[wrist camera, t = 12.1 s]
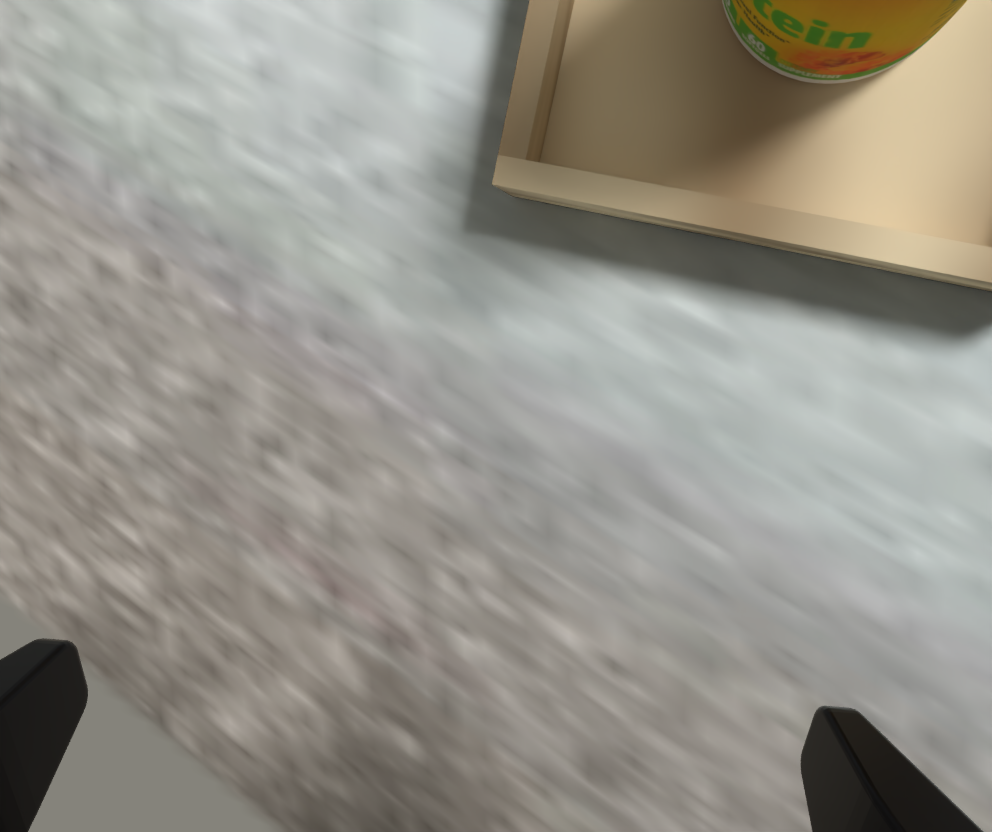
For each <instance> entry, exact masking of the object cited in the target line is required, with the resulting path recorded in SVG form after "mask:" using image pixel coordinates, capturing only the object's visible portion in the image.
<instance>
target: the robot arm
mask: <svg viewBox="0 0 992 832" xmlns="http://www.w3.org/2000/svg"><path fill="white" fill-rule="evenodd" d="M87 697H88V688H87V684H86V680H85V676H84V672H83V669H82V665H81V661H80V657H79V654H78V650H77V647H76V646H75V645H74V644H73V643H72V642H70V641H68V640H56V639H44V638H43V639H37V640H34V641H32V642H30V643H28V644H27V645H25V646H23V647H21V648H20V649H18V650H16V651H14V652H13V653H11V654H9V655H8V656H6V657H4V658H2V659H1V660H0V832H28V830H29V828H30V826H31V824H32V822H33V820H34V818H35V816H36V814H37V812H38V810H39V808H40V806H41V803H42V801H43V799H44V797H45V795H46V792H47V790H48V788H49V786H50V784H51V781H52V779H53V777H54V775H55V773H56V771H57V768H58V766H59V764H60V762H61V760H62V758H63V755H64V753H65V751H66V749H67V746H68V745H69V742H70V740H71V738H72V736H73V734H74V731H75V729H76V727H77V725H78V723H79V721H80V718H81V716H82V714H83V712H84V709H85V707H86V703H87ZM801 774H802V779H803V784H804V790H805V795H806V800H807V805H808V811H809V816H810V821H811V826H812V831H813V832H983V831H982V830H981V829H980V828H979V827H978V826H977V825H976V824H975V823H974V822H973V821H972V820H971V819H970V818H969V817H968V816H967V815H966V814H965V813H964V812H963V811H962V810H960V809H959V808H958V807H957V806H956V805H955V804H954V803H953V802H952V801H951V800H950V799H949V798H948V797H947V796H946V795H945V794H944V793H943V792H942V791H941V790H940V789H939V788H938V787H937V786H936V785H935V784H934V783H932V782H931V781H930V780H929V779H928V778H927V777H926V776H925V775H924V774H923V773H922V772H921V771H920V770H919V769H918V768H917V767H916V766H915V765H914V764H913V763H912V762H911V761H910V760H909V759H908V758H907V757H906V756H904V755H903V754H902V753H901V752H900V751H899V750H898V749H897V748H896V747H895V746H894V745H893V744H892V743H891V742H890V741H889V740H888V739H887V738H886V737H885V736H884V735H883V734H882V733H881V732H880V731H879V730H878V729H876V728H875V727H874V726H873V725H872V724H871V723H870V722H869V721H868V720H867V719H866V718H865V717H864V716H863V715H862V714H861V713H860V712H858V711H856V710H855V709H852V708H845V707H833V706H821V707H819V708H818V709H817V710H816V712H815V714H814V717H813V720H812V723H811V726H810V729H809V732H808V735H807V738H806V741H805V744H804V747H803V750H802V754H801Z"/></svg>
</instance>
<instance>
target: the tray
mask: <svg viewBox="0 0 992 832" xmlns="http://www.w3.org/2000/svg"><path fill="white" fill-rule="evenodd" d="M492 185H494V186H496V187H497V188H499V189H501V190H502V191H504V192H506V193H508V194H509V195H511V196H515V197H520V198H525V199H530V200H535V201H540V202H545V203H550V204H555V205H560V206H565V207H570V208H575V209H580V210H585V211H590V212H595V213H600V214H605V215H610V216H615V217H620V218H625V219H630V220H635V221H640V222H645V223H650V224H655V225H660V226H665V227H670V228H675V229H680V230H685V231H690V232H695V233H700V234H705V235H710V236H715V237H720V238H725V239H730V240H735V241H740V242H745V243H751V244H756V245H761V246H766V247H771V248H776V249H781V250H786V251H791V252H796V253H801V254H806V255H811V256H816V257H821V258H826V259H831V260H836V261H841V262H846V263H851V264H856V265H861V266H866V267H871V268H876V269H881V270H886V271H891V272H896V273H901V274H906V275H911V276H916V277H921V278H926V279H931V280H936V281H941V282H946V283H951V284H956V285H961V286H966V287H971V288H976V289H982V290H987V291H992V0H967V1H966V3H965V4H964V5H963V6H962V7H961V8H960V9H959V10H958V12H957V13H956V14H955V15H954V16H953V17H952V18H951V19H950V20H949V21H948V22H947V23H946V24H945V25H944V26H943V27H942V28H941V29H940V30H939V31H938V32H937V33H936V34H935V35H934V36H933V37H932V38H931V39H930V40H929V41H928V42H927V43H926V44H925V45H923V46H922V47H921V48H920V49H919V50H917V51H916V52H915V53H913V54H912V55H911V56H909V57H908V58H906V59H905V60H903V61H902V62H900V63H898V64H897V65H895V66H893V67H891V68H889V69H887V70H885V71H883V72H880V73H878V74H875V75H873V76H870V77H867V78H863V79H860V80H856V81H850V82H845V83H834V84H822V83H810V82H804V81H799V80H796V79H793V78H789V77H786V76H784V75H781V74H779V73H777V72H775V71H773V70H772V69H770V68H768V67H767V66H765V65H764V64H762V63H761V62H760V61H758V60H757V59H756V58H755V57H753V56H752V55H751V54H750V53H749V51H748V50H747V49H746V48H745V47H744V46H743V45H742V43H741V42H740V41H739V39H738V38H737V36H736V34H735V33H734V31H733V29H732V27H731V25H730V23H729V21H728V18H727V16H726V14H725V10H724V7H723V3H722V0H529V5H528V10H527V15H526V20H525V25H524V30H523V35H522V39H521V44H520V49H519V54H518V59H517V64H516V69H515V74H514V79H513V83H512V88H511V93H510V98H509V103H508V108H507V113H506V118H505V123H504V127H503V132H502V137H501V142H500V147H499V152H498V157H497V162H496V167H495V171H494V176H493V181H492Z"/></svg>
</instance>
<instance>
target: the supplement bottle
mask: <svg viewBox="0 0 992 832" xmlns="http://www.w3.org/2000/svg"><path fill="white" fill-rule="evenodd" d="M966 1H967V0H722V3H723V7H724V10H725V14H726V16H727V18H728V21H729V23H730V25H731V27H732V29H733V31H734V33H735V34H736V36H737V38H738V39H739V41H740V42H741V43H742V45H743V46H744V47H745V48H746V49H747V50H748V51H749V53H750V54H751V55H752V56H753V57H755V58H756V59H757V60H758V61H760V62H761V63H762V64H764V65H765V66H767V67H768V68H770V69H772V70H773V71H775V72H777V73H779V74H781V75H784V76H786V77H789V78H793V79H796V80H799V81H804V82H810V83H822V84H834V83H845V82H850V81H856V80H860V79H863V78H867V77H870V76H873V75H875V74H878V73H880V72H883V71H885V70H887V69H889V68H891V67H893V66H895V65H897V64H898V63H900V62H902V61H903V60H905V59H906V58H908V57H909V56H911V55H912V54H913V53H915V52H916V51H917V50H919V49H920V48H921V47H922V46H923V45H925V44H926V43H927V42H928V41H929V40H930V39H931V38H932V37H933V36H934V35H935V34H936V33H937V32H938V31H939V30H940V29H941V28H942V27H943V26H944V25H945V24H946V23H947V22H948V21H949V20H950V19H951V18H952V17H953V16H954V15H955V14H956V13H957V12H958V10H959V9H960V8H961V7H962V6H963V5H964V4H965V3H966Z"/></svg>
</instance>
